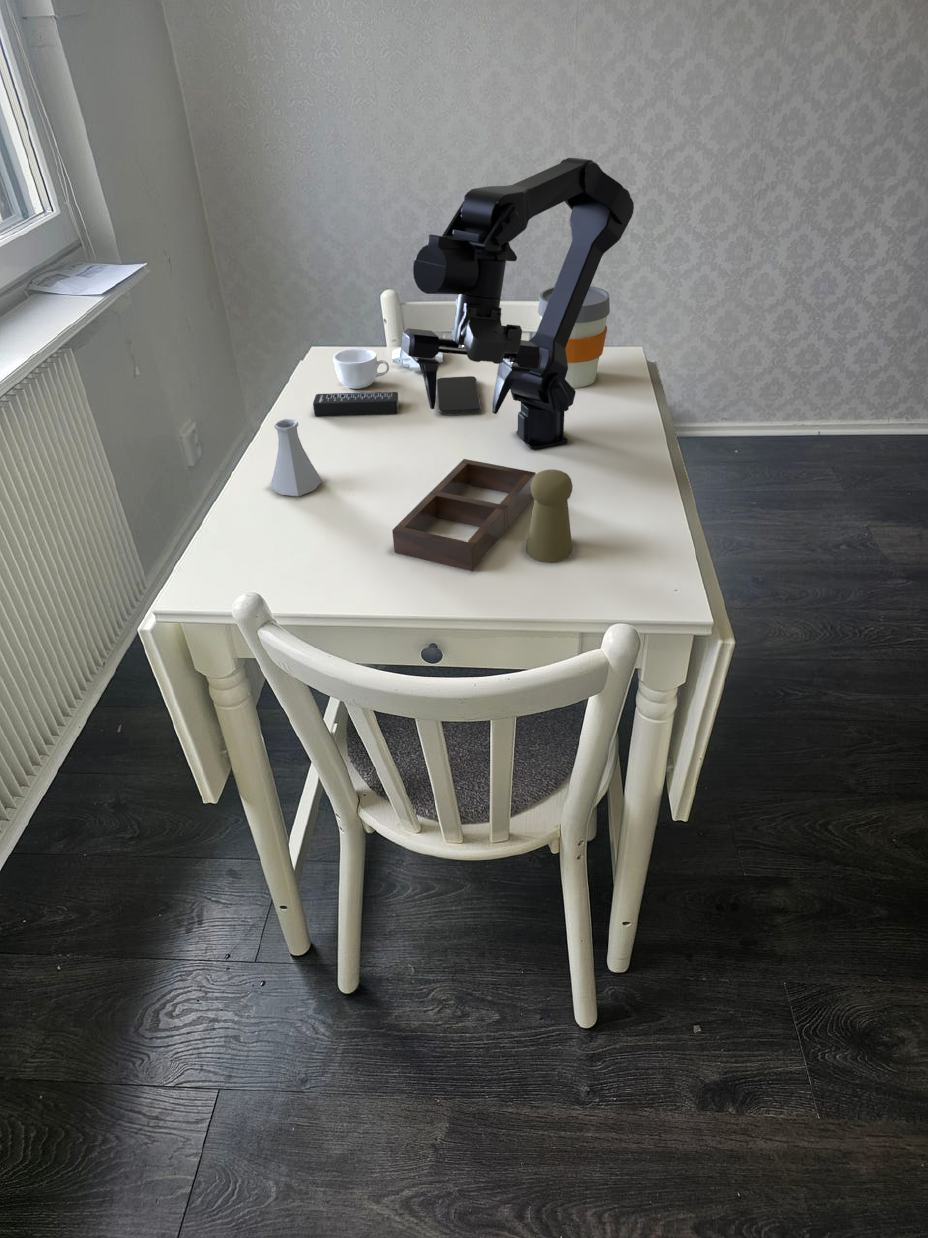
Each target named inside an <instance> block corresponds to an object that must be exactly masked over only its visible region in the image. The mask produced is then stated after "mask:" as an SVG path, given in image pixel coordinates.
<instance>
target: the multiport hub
mask: <svg viewBox="0 0 928 1238" xmlns="http://www.w3.org/2000/svg"><path fill="white" fill-rule="evenodd" d="M399 399H400V398H399V392H398V391H373V392H372V391H371V392H338V393H337V392H336V393H335V392H334V393H316V394H315V396H314V398H313V402H312V406H313V407H312V408H313V413H314V415H313V416H314V417H341V416H342V417H343V416H344V417H345V416H378V415H379V416H380V415H381V416H382V415H397V414H399V408H400V400H399Z"/></svg>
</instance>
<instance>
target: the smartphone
mask: <svg viewBox="0 0 928 1238" xmlns="http://www.w3.org/2000/svg"><path fill="white" fill-rule="evenodd" d="M436 399H437V412H438V414H440V415H445V416H446V415H463V414H465V415H466V414H478V413H480V412H481V410H482V405H481V400H480V392H479V385H478V380H477V378H476V377H475V376H472V375H469V376H468V375H467V376H449V377H447V376H446V377H439V378H438V377H437V381H436Z"/></svg>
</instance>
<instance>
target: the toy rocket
mask: <svg viewBox="0 0 928 1238" xmlns="http://www.w3.org/2000/svg"><path fill="white" fill-rule="evenodd" d="M443 354H444V353H441V352H438V354H437V355H436V356H435V359H436V360H437V361H438V362H439V364H440V363H443ZM391 355H392V356H391V360H392V361H391V364H395V365H400V366H403V368H409V372H420V371H421V369H420V366H419V363H416V362H415V361H414V359H413V358H412V357H411V356H408V355H407V354H406V353H405V352H404V351H403V350H402V348H401V347H399V348H397V349H393V350H392V354H391Z"/></svg>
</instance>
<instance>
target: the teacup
mask: <svg viewBox="0 0 928 1238" xmlns="http://www.w3.org/2000/svg"><path fill="white" fill-rule="evenodd" d="M333 364H334V369H335V373H336V376H337V379H338V380H339V382H340V383H341V384H342V385H343V386H345V387H346V388H349V389H353V390H358V389H365V388H367V387H369V386H370V385H372V384H373V383H374V381H375V380H376V378H379V377H382V376H384V375H386V374H387V373H388V372H389V371H390V364H389V363H388V362H387V361H386V360H381V359H380V360H378V356H377V353H376V351H375V350H372V349H368V348H348V349H343V350H341V351H338V352H335V354H334V355H333ZM381 364H384V365H385V366H386V370H385V371H383V372H378V368H379V366H381Z"/></svg>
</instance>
